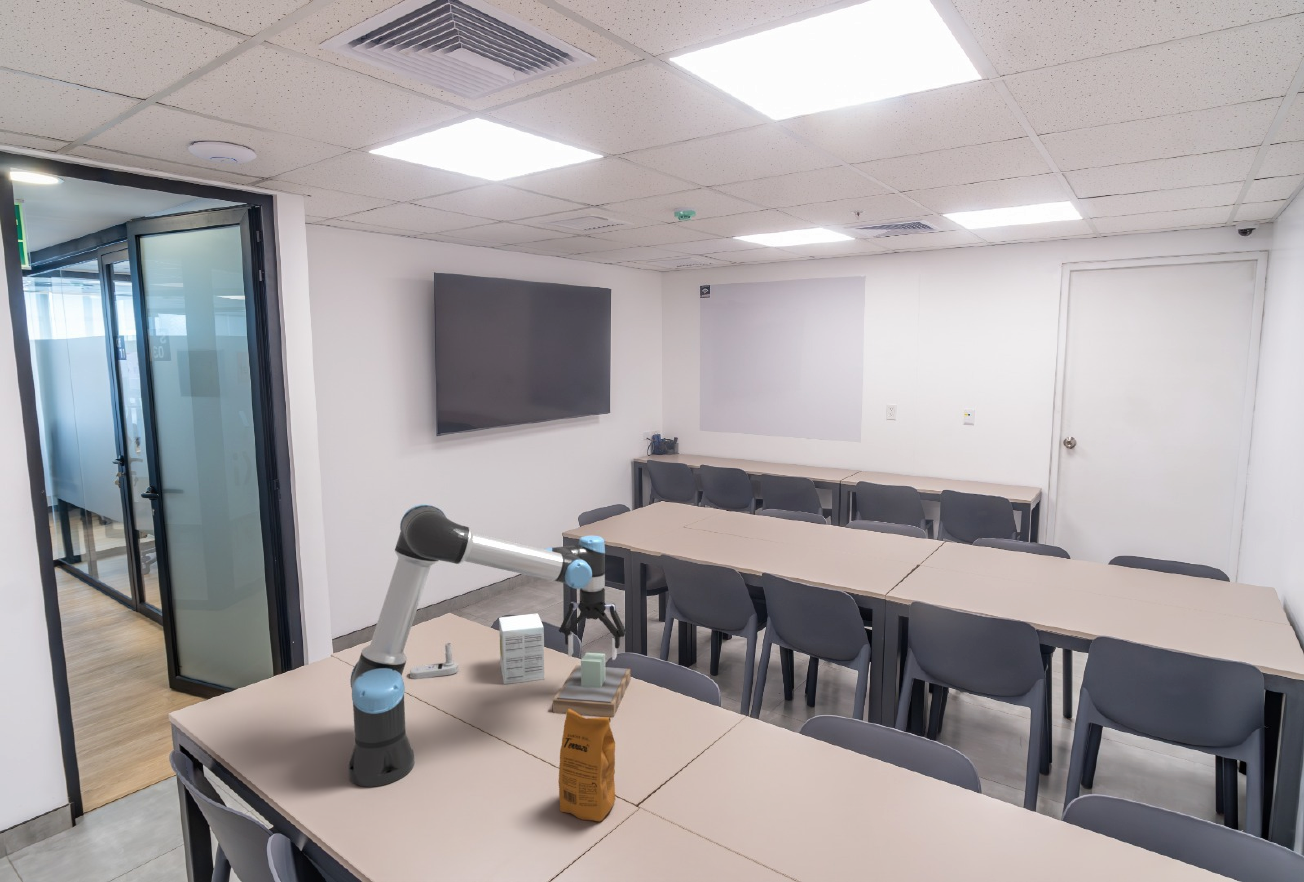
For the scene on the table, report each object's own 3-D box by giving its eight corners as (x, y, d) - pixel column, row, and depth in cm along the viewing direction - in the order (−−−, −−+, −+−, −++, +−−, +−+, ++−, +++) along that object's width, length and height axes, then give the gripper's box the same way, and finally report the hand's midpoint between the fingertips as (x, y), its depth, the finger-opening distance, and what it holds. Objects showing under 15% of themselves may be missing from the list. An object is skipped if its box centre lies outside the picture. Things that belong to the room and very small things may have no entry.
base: (613, 717, 192) (613, 703, 192) (553, 712, 195) (552, 698, 195) (630, 679, 216) (630, 667, 215) (576, 675, 219) (576, 664, 218)
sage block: (600, 687, 201) (600, 662, 201) (581, 686, 202) (580, 660, 202) (605, 678, 207) (605, 653, 207) (586, 677, 208) (586, 652, 208)
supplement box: (499, 668, 225) (498, 617, 223) (539, 662, 229) (538, 612, 227) (503, 685, 212) (501, 631, 211) (545, 679, 216) (544, 626, 215)
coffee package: (575, 787, 159) (573, 698, 157) (621, 801, 154) (620, 709, 152) (551, 811, 150) (549, 717, 148) (599, 827, 145) (598, 730, 143)
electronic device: (409, 645, 221) (456, 639, 224) (411, 674, 222) (458, 668, 225) (407, 652, 215) (456, 646, 219) (409, 681, 216) (458, 675, 220)
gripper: (635, 586, 204) (635, 654, 206) (556, 581, 208) (556, 648, 210) (630, 594, 196) (630, 664, 198) (548, 589, 200) (548, 658, 202)
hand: (592, 656), depth 204 cm, fingers open, 13 cm apart
